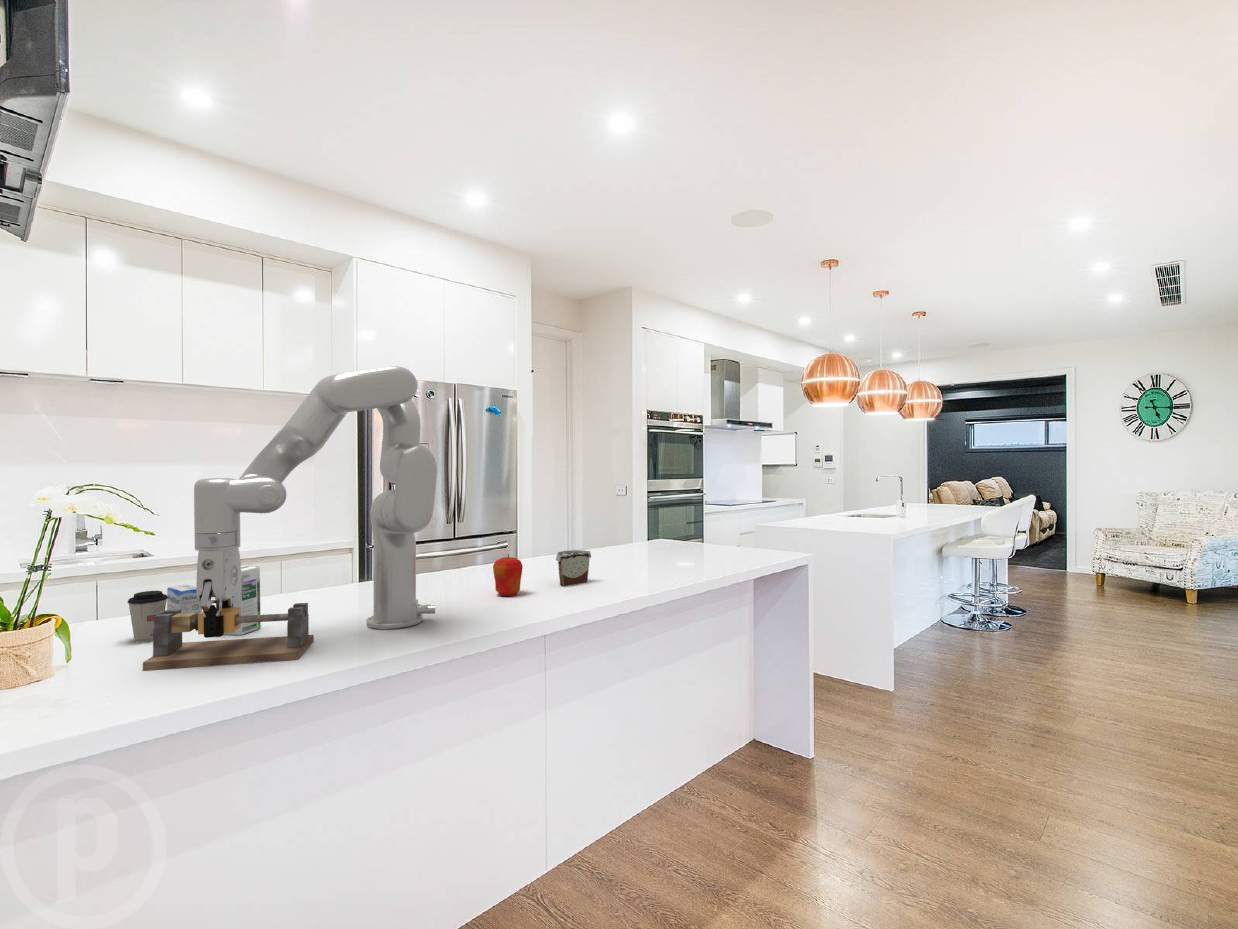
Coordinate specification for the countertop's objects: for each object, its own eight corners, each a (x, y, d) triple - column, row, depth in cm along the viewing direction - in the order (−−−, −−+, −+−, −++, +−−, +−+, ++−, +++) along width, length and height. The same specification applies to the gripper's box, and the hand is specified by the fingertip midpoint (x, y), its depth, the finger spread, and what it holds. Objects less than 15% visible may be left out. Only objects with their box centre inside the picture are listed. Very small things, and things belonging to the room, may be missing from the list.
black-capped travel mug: (118, 643, 127) (118, 596, 127) (148, 634, 134) (148, 589, 134) (147, 645, 126) (147, 597, 126) (176, 635, 133) (176, 590, 133)
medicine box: (166, 623, 142) (166, 587, 142) (187, 619, 146) (187, 584, 146) (180, 629, 138) (180, 591, 138) (202, 624, 142) (202, 587, 142)
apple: (488, 593, 175) (488, 553, 175) (515, 590, 180) (515, 550, 180) (499, 599, 168) (500, 557, 168) (527, 595, 173) (527, 554, 173)
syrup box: (240, 636, 133) (240, 570, 132) (218, 634, 134) (218, 569, 134) (261, 629, 138) (261, 565, 138) (239, 627, 139) (239, 564, 139)
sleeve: (240, 627, 122) (240, 607, 122) (233, 632, 118) (233, 612, 118) (206, 629, 120) (206, 609, 120) (198, 634, 116) (198, 614, 116)
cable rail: (313, 641, 129) (313, 599, 129) (298, 659, 117) (298, 613, 117) (173, 650, 122) (173, 605, 122) (142, 670, 111) (142, 621, 111)
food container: (579, 579, 197) (579, 548, 197) (591, 582, 192) (591, 551, 192) (548, 584, 189) (548, 552, 189) (559, 587, 184) (559, 554, 184)
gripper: (222, 546, 112) (223, 644, 112) (253, 534, 128) (254, 620, 128) (176, 547, 110) (177, 647, 110) (213, 536, 126) (214, 623, 126)
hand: (218, 632), depth 119 cm, fingers open, 4 cm apart
